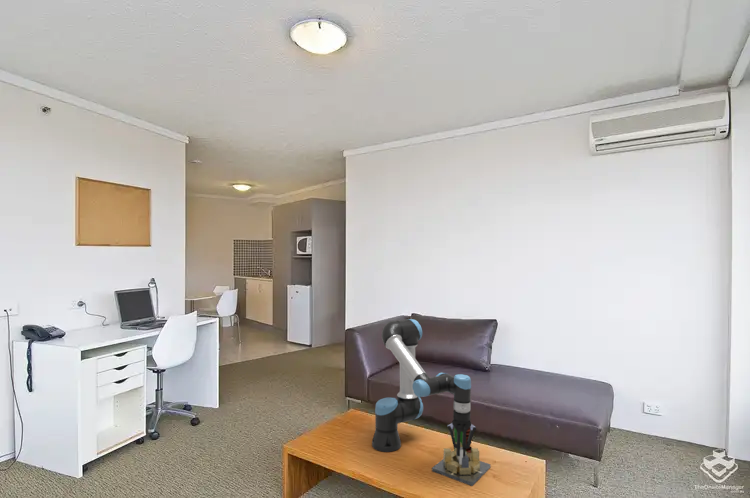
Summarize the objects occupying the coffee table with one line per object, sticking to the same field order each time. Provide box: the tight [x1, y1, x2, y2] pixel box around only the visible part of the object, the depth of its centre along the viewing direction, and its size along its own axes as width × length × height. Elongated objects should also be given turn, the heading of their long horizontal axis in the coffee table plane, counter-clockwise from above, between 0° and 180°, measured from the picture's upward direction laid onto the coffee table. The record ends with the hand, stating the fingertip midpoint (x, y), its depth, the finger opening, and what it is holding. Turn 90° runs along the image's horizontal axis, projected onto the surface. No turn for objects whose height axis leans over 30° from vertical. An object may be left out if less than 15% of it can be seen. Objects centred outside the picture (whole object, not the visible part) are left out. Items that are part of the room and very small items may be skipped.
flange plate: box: [431, 451, 492, 487], centre depth 192 cm, size 20×20×8 cm
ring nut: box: [442, 442, 481, 475], centre depth 192 cm, size 16×16×7 cm
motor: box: [453, 426, 473, 453], centre depth 209 cm, size 10×9×20 cm
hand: (460, 463), depth 185 cm, fingers closed
